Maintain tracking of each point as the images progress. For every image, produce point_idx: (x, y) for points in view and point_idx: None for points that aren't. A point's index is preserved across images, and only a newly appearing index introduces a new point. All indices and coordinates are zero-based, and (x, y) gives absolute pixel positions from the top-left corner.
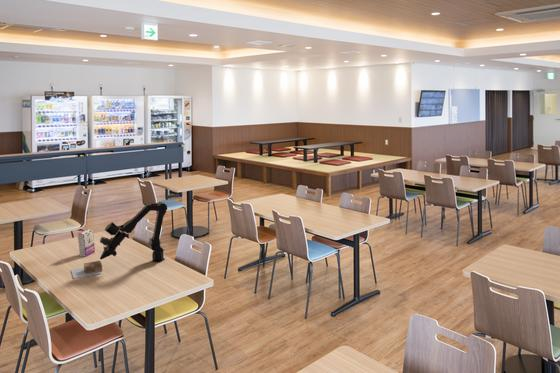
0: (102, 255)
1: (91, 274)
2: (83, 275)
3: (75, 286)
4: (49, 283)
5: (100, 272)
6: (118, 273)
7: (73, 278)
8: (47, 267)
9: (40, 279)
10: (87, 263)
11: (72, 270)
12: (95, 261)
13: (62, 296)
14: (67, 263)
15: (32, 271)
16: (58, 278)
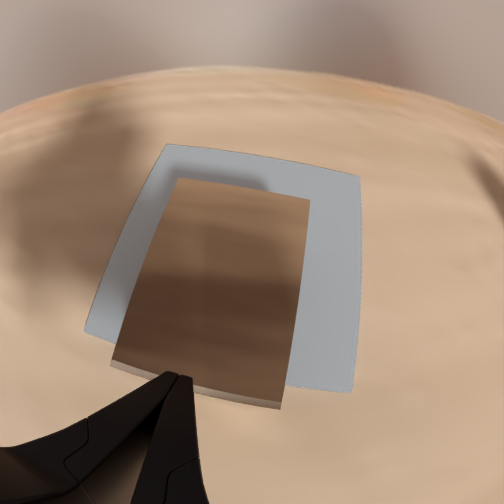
0: (108, 409)
1: (124, 253)
2: (157, 200)
3: (55, 141)
4: (201, 76)
5: (109, 336)
6: (13, 435)
7: (167, 146)
8: (450, 135)
9: (288, 70)
10: (271, 227)
11: (339, 178)
12: (289, 337)
13: (32, 106)
14: (491, 216)
15: (413, 91)
16: (243, 103)
